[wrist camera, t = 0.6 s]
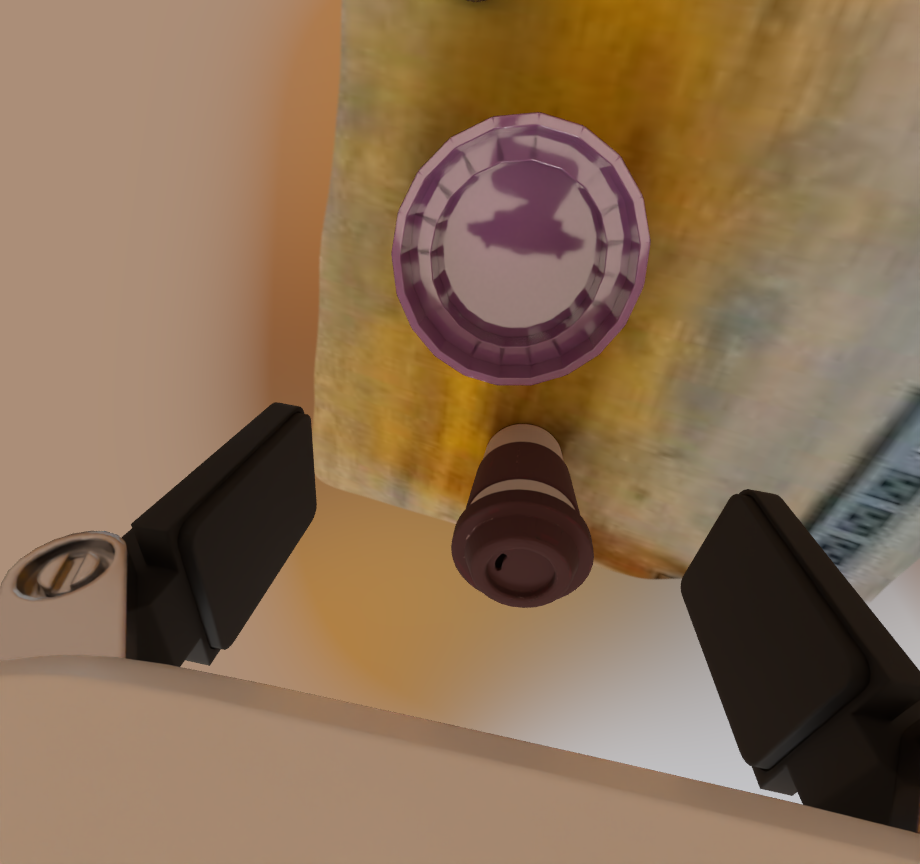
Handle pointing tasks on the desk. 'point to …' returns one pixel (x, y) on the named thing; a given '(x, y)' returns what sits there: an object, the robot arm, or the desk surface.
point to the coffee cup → (523, 523)
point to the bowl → (520, 249)
